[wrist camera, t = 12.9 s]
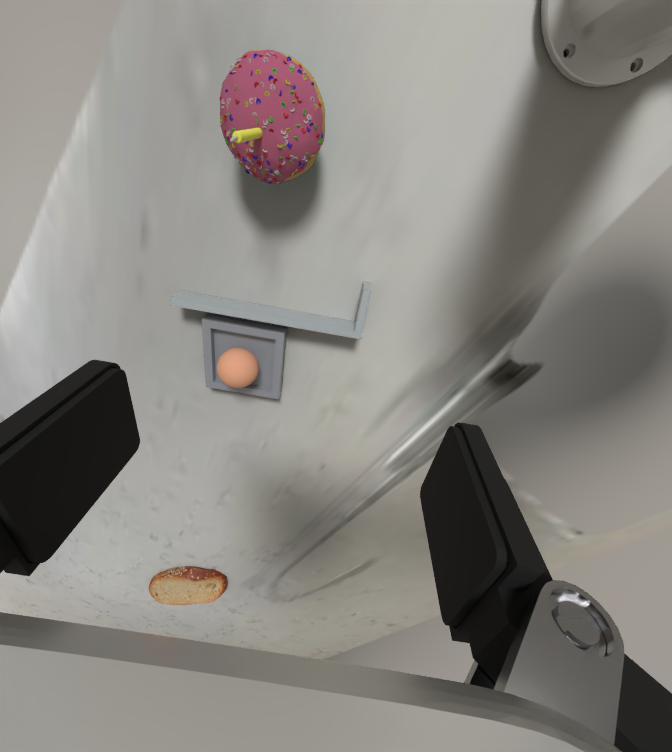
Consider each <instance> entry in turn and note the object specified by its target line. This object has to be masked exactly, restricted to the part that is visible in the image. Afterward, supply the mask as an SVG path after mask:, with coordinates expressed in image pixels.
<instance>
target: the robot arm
mask: <svg viewBox="0 0 672 752" xmlns="http://www.w3.org/2000/svg"><path fill="white" fill-rule="evenodd" d="M541 25H542V33H543V38H544V42H545V47H546V49H547V52H548V54H549V56H550V58H551V60H552V62H553V64H554V65H555V66H556V67H557V69H558V70H559V71H560V73H561V74H563V75H564V76H565V77H567V78H568V79H570V80H571V81H572V82H575V83H578V84H581V85H584V86H590V87H604V86H611V85H616V84H619V83H622V82H625V81H628V80H631V79H633V78H635V77H637V76H640V75H642V74H644V73H646V72H648V71H650V70H651V69H653V68H654V67H656V66H657V65H659V64H660V63H662V62H663V61H665V60H666V59H667V58H668V57H669V56H671V55H672V0H542V3H541ZM564 50H565V51H566V57H565V58H564V55H563V52H564ZM631 65H632V68H631V69H630V67H631ZM139 444H140V437H139V433H138V428H137V424H136V419H135V414H134V410H133V405H132V401H131V396H130V391H129V387H128V382H127V378H126V374H125V372H124V370H121V369H120V366H119V365H118V364H116V363H111V362H105V361H99V360H91V361H89V362H88V363H86V364H85V365H83V366H82V367H81V368H79V369H78V370H76V371H75V372H73V373H72V374H70V375H69V376H68V377H66V378H65V379H63V380H62V381H60V382H59V383H57V384H56V385H55V386H53V387H52V388H50V389H49V390H47V391H46V392H45V393H43V394H42V395H40V396H39V397H37V398H36V399H34V400H33V401H32V402H30V403H29V404H27V405H26V406H24V407H23V408H21V409H20V410H19V411H17V412H16V413H14V414H13V415H11V416H10V417H9V418H7V419H6V420H4V421H3V422H1V423H0V573H1V572H2V571H3V570H4V571H5V572H6V573H12V574H19V575H25V576H30V575H31V574H32V572H33V571H34V570H35V569H36V567H37V566H38V565H39V564H40V563H43V562H45V561H47V560H48V559H49V558H50V557H51V556H52V555H53V554H54V553H55V552H56V550H57V549H58V548H59V547H60V545H61V544H62V543H63V542H64V540H65V539H66V538H67V537H68V535H69V534H70V533H71V532H72V531H73V529H74V528H75V527H76V526H77V524H78V523H79V522H80V521H81V519H82V518H83V517H84V516H85V514H86V513H87V512H88V511H89V509H90V508H91V507H92V506H93V505H94V503H95V502H96V501H97V500H98V498H99V497H100V496H101V495H102V493H103V492H104V491H105V490H106V488H107V487H108V486H109V485H110V483H111V482H112V481H113V480H114V479H115V477H116V476H117V475H118V474H119V472H120V471H121V470H122V469H123V467H124V466H125V465H126V464H127V462H128V461H129V460H130V459H131V457H132V456H133V455H134V454H135V453H136V451H137V449H138V447H139ZM420 498H421V504H422V510H423V515H424V521H425V527H426V532H427V538H428V543H429V549H430V554H431V560H432V566H433V571H434V577H435V582H436V588H437V593H438V599H439V605H440V610H441V615H442V619H443V622H444V623H445V625H449V627H450V632H451V637H452V640H453V641H459V642H467V643H470V647H471V651H472V655H473V658H474V663H473V664H472V667H471V669H470V671H469V673H468V675H467V678H466V680H465V682H464V683H460V682H454V681H449V680H443V679H437V678H431V677H426V676H420V675H414V674H409V673H403V672H397V671H391V670H385V669H378V668H372V667H365V666H359V665H352V664H346V663H339V662H333V661H326V660H320V659H313V658H307V657H300V656H294V655H287V654H281V653H274V652H268V651H261V650H254V649H247V648H241V647H234V646H227V645H221V644H214V643H207V642H201V641H194V640H187V639H180V638H174V637H167V636H160V635H153V634H146V633H140V632H133V631H126V630H119V629H113V628H106V627H99V626H92V625H85V624H78V623H71V622H64V621H57V620H50V619H43V618H36V617H29V616H22V615H15V614H8V613H1V612H0V752H672V694H671V693H670V692H669V691H668V690H667V689H666V688H664V687H663V686H662V685H661V684H660V683H658V682H657V681H656V680H655V679H654V678H653V677H651V676H650V675H649V674H648V673H646V672H645V671H644V670H643V669H642V668H641V667H639V666H638V665H637V664H636V663H635V662H634V661H633V660H631V659H630V658H629V657H628V656H627V655H626V654H624V645H623V640H622V638H621V635H620V633H619V630H618V628H617V626H616V625H615V623H614V621H613V620H612V618H611V617H610V615H609V614H608V613H607V612H606V610H604V608H603V607H602V606H601V605H600V604H599V603H598V602H597V601H596V600H595V599H594V598H593V597H592V596H590V595H589V594H588V593H587V592H585V591H584V590H582V589H580V588H579V587H577V586H576V585H573V584H571V583H568V582H565V581H557V580H552V577H551V575H550V573H549V571H548V569H547V567H546V565H545V563H544V560H543V558H542V556H541V554H540V552H539V550H538V548H537V545H536V543H535V541H534V539H533V537H532V535H531V533H530V530H529V528H528V526H527V524H526V522H525V520H524V518H523V515H522V513H521V511H520V509H519V507H518V505H517V503H516V501H515V498H514V496H513V494H512V492H511V490H510V488H509V486H508V484H507V482H506V480H505V479H504V478H503V475H502V473H501V471H500V469H499V467H498V465H497V462H496V460H495V458H494V456H493V454H492V452H491V450H490V448H489V445H488V443H487V441H486V439H485V437H484V434H483V432H482V430H481V428H480V427H479V426H477V425H471V424H465V423H460V422H459V423H457V424H455V426H454V427H453V426H450V427H449V428H448V430H447V432H446V434H445V436H444V438H443V441H442V443H441V445H440V447H439V449H438V451H437V454H436V456H435V458H434V460H433V462H432V464H431V467H430V469H429V471H428V473H427V475H426V478H425V480H424V482H423V484H422V487H421V491H420Z"/></svg>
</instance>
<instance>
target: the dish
mask: <svg viewBox="0 0 672 752" xmlns="http://www.w3.org/2000/svg"><path fill="white" fill-rule="evenodd" d="M202 331H203V347H204V363H205V379H206V387H209V388H215V389H221V390H227V391H232V392H238V393H244V394H250V395H256V396H262V397H267V398H273V399H279V397H280V394H281V391H282V380H283V369H284V357H285V346H286V335H287V328H286V327H280V326H275V325H269V324H263V323H258V322H252V321H246V320H241V319H235V318H230V317H224V316H218V315H213V314H207V315H206V316H205V317H204V318H202ZM232 348H243V349H246V350H248V351H250V352H251V353H252V354H253V355H254V356H255V357H256V359H257V361H258V365H259V371H258V375H257V377H256V379H255V380H254V381H253V382H252V383H251V384H250V385H248V386H246V387H242V388H233V387H230V386H228V385H226V384H225V383H224V382H222V380H221V379H220V378H219V376H218V373H217V363H218V360H219V358H220V356H221V355H222V354H223V353H224V352H226V351H227V350H229V349H232Z"/></svg>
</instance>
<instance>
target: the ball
mask: <svg viewBox="0 0 672 752" xmlns="http://www.w3.org/2000/svg"><path fill="white" fill-rule="evenodd" d="M258 371H259V365H258V361H257V359H256V357H255V356H254V355H253V354H252V353H251V352H250V351H248V350H246V349H243V348H232V349H229V350H227V351H226V352H224V353H223V354H222V355H221V356H220V358H219V360H218V363H217V373H218V376H219V378H220V379H221V380H222V382H224V383H225V384H226V385H228V386H230V387H233V388H242V387H246V386H248V385H250V384H251V383H252V382H253V381H254V380H255V379H256V377H257V375H258Z"/></svg>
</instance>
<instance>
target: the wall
mask: <svg viewBox="0 0 672 752" xmlns="http://www.w3.org/2000/svg"><path fill="white" fill-rule="evenodd" d="M370 293H371V285H370V282H364V281H363V286H362V291H361V296H360V300H359V305H358V310H357V315H356V320H355V322H354V321H349V320H343V319H337V318H332V317H326V316H321V315H315V314H310V313H304V312H298V311H293V310H287V309H282V308H276V307H271V306H265V305H259V304H254V303H248V302H243V301H237V300H232V299H226V298H220V297H215V296H209V295H204V294H198V293H193V292H187V291H181V292H179V293H178V294H176V295H175V296H173V297H171V298H170V306H176V307H182V308H187V309H193V310H199V311H204V312H210V313H215V314H221V315H227V316H232V317H238V318H243V319H249V320H255V321H260V322H266V323H272V324H277V325H283V326H288V327H294V328H300V329H305V330H311V331H316V332H322V333H328V334H333V335H339V336H345V337H350V338H356V339H360V337H361V333H362V328H363V324H364V319H365V315H366V311H367V306H368V302H369V297H370Z"/></svg>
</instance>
